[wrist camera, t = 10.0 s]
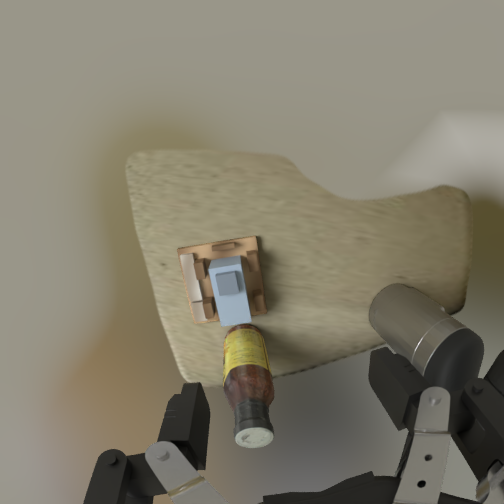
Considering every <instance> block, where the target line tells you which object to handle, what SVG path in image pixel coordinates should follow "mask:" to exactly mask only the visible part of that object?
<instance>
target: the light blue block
mask: <svg viewBox="0 0 504 504" xmlns="http://www.w3.org/2000/svg"><path fill="white" fill-rule="evenodd" d="M208 270H209V275H210V279H211V284H212V288H213V293H214V297H215V301H216V306H217V310H218V314H219V318H220V322H221V327H222V326H229V325H236V324H242V323H248V322H252V321H251V312H250V305H249V300H248V295H247V289H246V284H245V278H244V273H243V267H242V262H241V256H240V255H238V256H232V257H226V258H221V259H215V260H211V263H210V266H209V269H208Z"/></svg>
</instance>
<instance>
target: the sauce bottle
mask: <svg viewBox="0 0 504 504" xmlns="http://www.w3.org/2000/svg"><path fill="white" fill-rule="evenodd" d="M223 389H224V390H223V391H224V394H225V397H226V399H227V400H228V403H229V405H230V406H231V408H232V410H233V412H234V415H235V428H234V438H235V441H236V442H237V444H239V445H240V446H243V447H247V448H258V447H263V446H265V445H267V444H269V443H270V442H271V441H272V440H273V439H274V431H273V426H272V424H271V423H270V419H269V414H268V413H269V405H270V404H271V403H272V401H273V399H274V387H273V382H272V373H271V369H270V364H269V360H268V355H267V351H266V346H265V342H264V339H263V337H262V334H261V332H260V331H259V330H258V329H257V328H256V327H254V326H250V325H247V324H243V325H237V326H235V327H233V328H232V329H230V330H229V331H228V333H227V335H226V337H225V341H224V368H223Z"/></svg>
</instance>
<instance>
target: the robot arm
mask: <svg viewBox="0 0 504 504" xmlns="http://www.w3.org/2000/svg"><path fill="white" fill-rule="evenodd" d="M444 311H445V309H444V307H443V306H441V305H440V304H438V303H437V302H435V301H433V300H432V299H430V298H429V297H427V296H426V295H424V294H422V293H421V292H419V291H418V290H416V289H414V288H413V287H412V288H407V287H406V286H404V285H402V284H393V285H390V286H388V287H386V288H384V289H383V290H382V291H381V292H380V293H379V294H378V295H377V296H376V297H375V299H374V300H373V302H372V304H371V308H370V312H369V320H370V323H371V325H372V327H373V328H374V329H375V330H376V331H377V332H378V334H379V335H380V336H381V337H382V338H383V339H384V340H385V341H386V342H387V344H388V345H389V346H390V347H391V348H392V349H393V350H394V351H395V352H396V353H397V354H393V353H392V352H391V351H390V350H389V349H388V347H383V348H380V349H377V350H373V351H372V352H371V355H370V366H369V382H370V385H371V387H372V389H373V390H374V392H375V393H376V395H377V397H378V398H379V400H380V402H381V403H382V405H383V407H384V408H385V409H386V411H387V413H388V415H389V416H390V418H391V419H392V421H393V423H394V424H395V426H396V428H397V429H398V430H402V429H405V428H407V429H408V431H409V432H408V435H407V438H406V442H405V445H404V449H403V452H402V456H401V459H400V462H399V465H398V468H397V470H396V472H395V475H394V477H393V476H374V475H373V473H372V471H370V472H368V473H364V474H362V475H359V476H355V477H352V478H349V479H346V480H344V481H342V482H340V483H338V484H336V485H334V486H332V487H330V488H328V489H326V490H324V491H321V492H289V493H283V494H276V495H268V496H263V502H261V503H259V504H504V350H503V351H502V352H501V353H500V354H499V355H498V357H497V358H496V360H495V361H494V363H493V365H492V366H491V368H490V369H489V371H488V372H487V374H486V375H485V377H484V379H482V378H478V374H479V370H480V367H481V363H482V360H483V355H484V344H483V341H482V339H481V338H480V337H479V336H478V335H477V334H476V333H474V332H473V331H471V330H470V329H469V328H467V327H466V326H464V325H463V324H462V323H460V322H459V321H457V320H456V319H454V318H453V317H451V316H450V315H448V314H447V313H446V312H444ZM209 424H210V408H209V404H208V401H207V399H206V396H205V393H204V390H203V387H202V385H201V383H200V382H197V383H185V384H184V385H183V388H182V392H181V394H175V395H174V396H173V397H172V398H171V399H170V400H169V402H168V405H167V408H166V412H165V415H164V419H163V423H162V426H161V429H160V433H159V437H158V441H157V442H156V443H154V444H152V445H150V446H149V447H148V449H147V450H146V452H145V453H141V454H136V455H130V456H126V455H125V454H124V453H123V452H122V451H120V450H116V449H111V450H107V451H105V452H103V453H102V454H101V455H100V456H99V457H98V460H97V463H96V466H95V469H94V472H93V475H92V477H91V481H90V484H89V487H88V490H87V493H86V496H85V500H84V503H83V504H153V497H154V496H155V495H160V494H167V493H168V495H169V497H170V499H171V500H172V501H173V503H174V504H230V503H229V502H228V501H227V500H226V499H225V498H224V497H223V496H222V495H221V494H220V493H219V492H217V491H216V489H215V488H214V487H213V486H212V485H211V484H210V483H209V482H208V481H207V480H206V479H205V478H204V477H202V476H201V475H200V474H199V473H198V472H197V470H205V467H206V456H207V444H208V434H209ZM450 437H452V439H453V440H454V442H455V443H456V445H457V446H458V448H459V450H460V451H461V453H462V455H463V456H464V458H465V460H466V461H467V463H468V465H469V466H470V468H471V470H472V471H473V473H474V475H475V477H476V478H477V480H478V484H477V487H476V499H477V500H478V502H477V501H473V500H469V499H464V498H460V497H456V496H453V495H449V494H446V493H442V492H440V491H441V486H442V483H443V478H444V474H445V469H446V463H447V457H448V452H449V445H450Z"/></svg>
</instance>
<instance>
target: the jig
mask: <svg viewBox="0 0 504 504" xmlns="http://www.w3.org/2000/svg"><path fill="white" fill-rule="evenodd" d="M177 252H178V256H179V261H180V266H181V270H182V275H183V279H184V283H185V288H186V292H187V296H188V300H189V304H190V308H191V312H192V316H193V320H194V324H196V323H204V322H212V321H219V320H220V318H219V314H218V310H217V306H216V301H215V297H214V293H213V288H212V284H211V279H210V275H209V270H208V269H209V266H210V263H211V260H215V259H221V258H226V257H232V256H238V255H240V256H241V262H242V267H243V273H244V278H245V284H246V289H247V295H248V300H249V305H250V312H251V316H254V315H260V314H266V313H267V308H266V302H265V295H264V288H263V281H262V274H261V267H260V261H259V254H258V247H257V241H256V236H250V237H243V238H237V239H231V240H225V241H218V242H212V243H206V244H200V245H194V246H188V247H182V248H178V249H177Z"/></svg>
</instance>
